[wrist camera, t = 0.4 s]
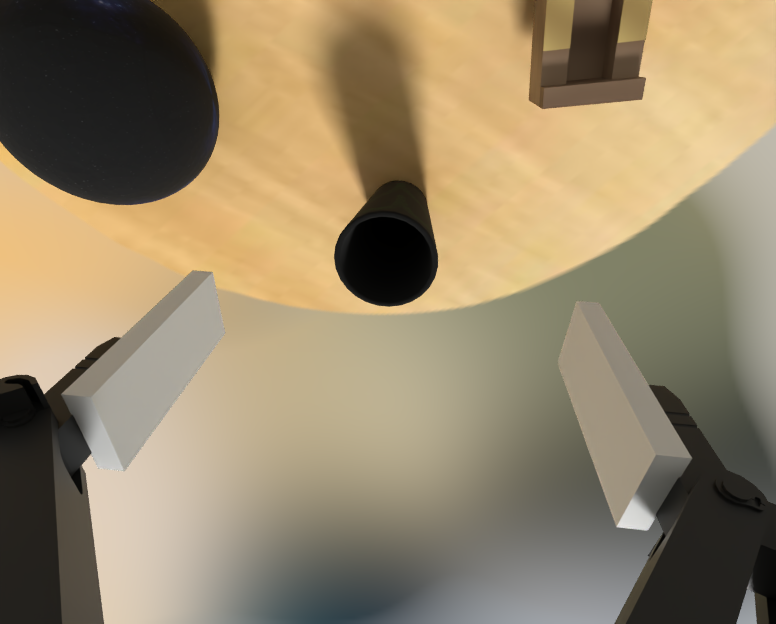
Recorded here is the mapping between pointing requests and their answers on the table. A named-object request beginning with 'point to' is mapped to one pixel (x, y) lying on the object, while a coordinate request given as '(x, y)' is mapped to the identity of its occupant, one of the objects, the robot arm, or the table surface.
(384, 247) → the cup
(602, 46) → the beam
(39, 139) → the decorative sphere
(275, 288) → the table surface
